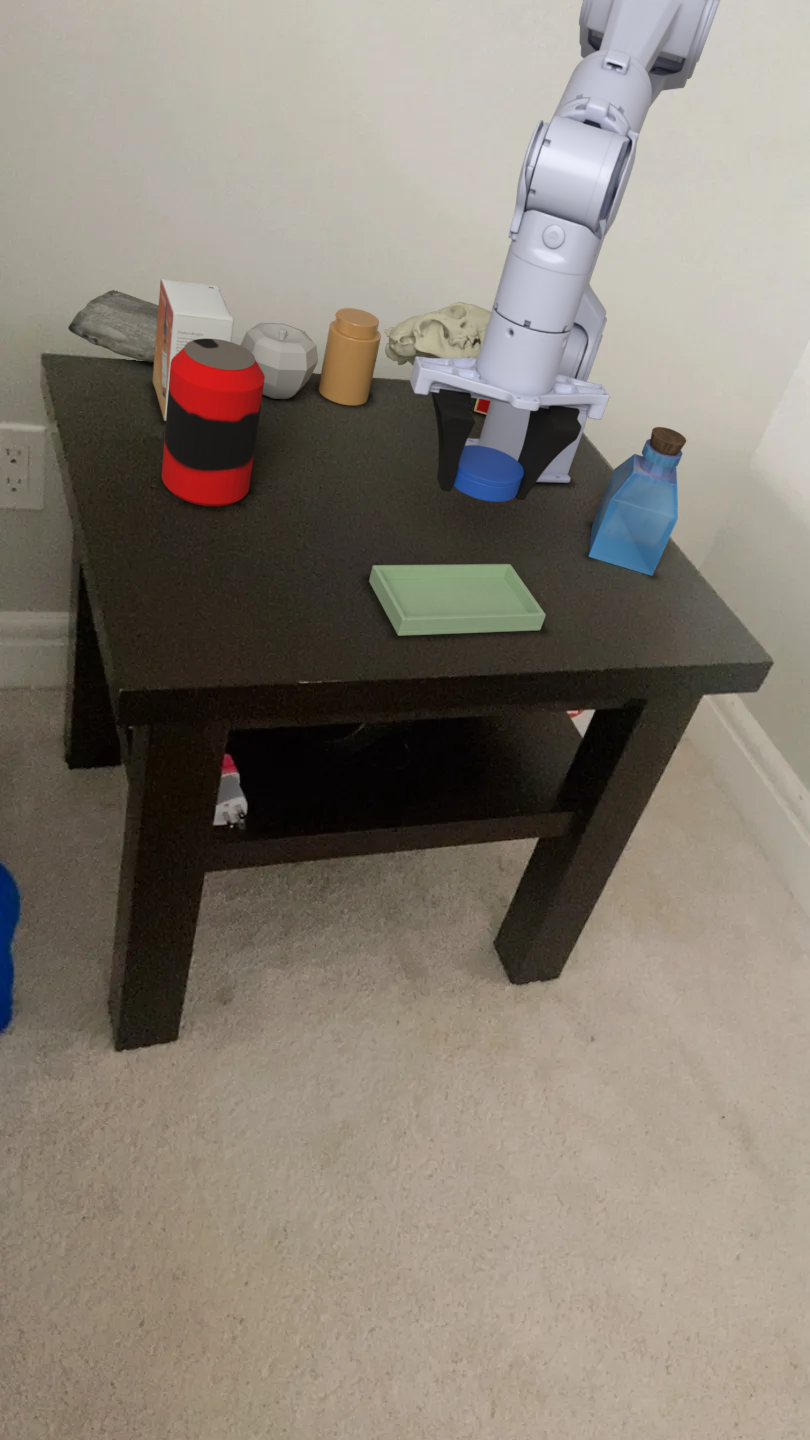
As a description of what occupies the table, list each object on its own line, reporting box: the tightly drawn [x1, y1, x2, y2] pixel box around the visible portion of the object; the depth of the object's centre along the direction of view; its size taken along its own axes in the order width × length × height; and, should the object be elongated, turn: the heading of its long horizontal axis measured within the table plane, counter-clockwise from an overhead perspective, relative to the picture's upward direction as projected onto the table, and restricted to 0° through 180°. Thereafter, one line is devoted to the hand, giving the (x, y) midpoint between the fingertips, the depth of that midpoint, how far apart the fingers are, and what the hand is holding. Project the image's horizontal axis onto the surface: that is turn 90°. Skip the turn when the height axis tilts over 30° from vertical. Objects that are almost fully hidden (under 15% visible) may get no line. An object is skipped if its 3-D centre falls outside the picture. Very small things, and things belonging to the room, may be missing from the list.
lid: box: [453, 445, 524, 503], centre depth 80 cm, size 6×6×2 cm
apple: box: [239, 322, 319, 400], centre depth 107 cm, size 8×8×7 cm
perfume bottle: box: [588, 426, 687, 577], centre depth 96 cm, size 6×6×12 cm
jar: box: [317, 307, 382, 406], centre depth 110 cm, size 5×5×8 cm
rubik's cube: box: [473, 398, 491, 416], centre depth 117 cm, size 6×6×6 cm
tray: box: [368, 563, 547, 637], centre depth 86 cm, size 13×7×2 cm, turn 110°
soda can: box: [161, 339, 265, 508], centre depth 88 cm, size 8×8×12 cm
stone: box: [67, 289, 159, 364], centre depth 109 cm, size 11×4×15 cm
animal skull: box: [383, 301, 491, 366], centre depth 116 cm, size 15×9×8 cm
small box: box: [152, 278, 235, 422], centre depth 99 cm, size 8×6×10 cm
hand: (480, 489), depth 81 cm, fingers closed on lid, 5 cm apart
